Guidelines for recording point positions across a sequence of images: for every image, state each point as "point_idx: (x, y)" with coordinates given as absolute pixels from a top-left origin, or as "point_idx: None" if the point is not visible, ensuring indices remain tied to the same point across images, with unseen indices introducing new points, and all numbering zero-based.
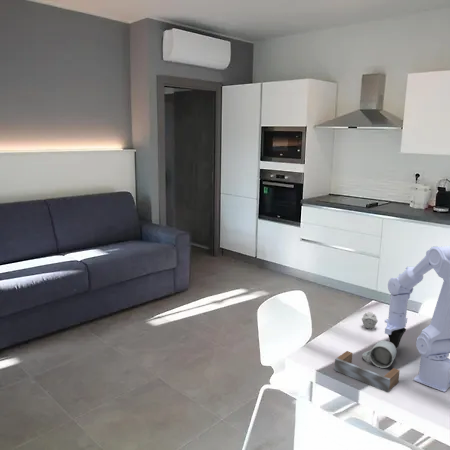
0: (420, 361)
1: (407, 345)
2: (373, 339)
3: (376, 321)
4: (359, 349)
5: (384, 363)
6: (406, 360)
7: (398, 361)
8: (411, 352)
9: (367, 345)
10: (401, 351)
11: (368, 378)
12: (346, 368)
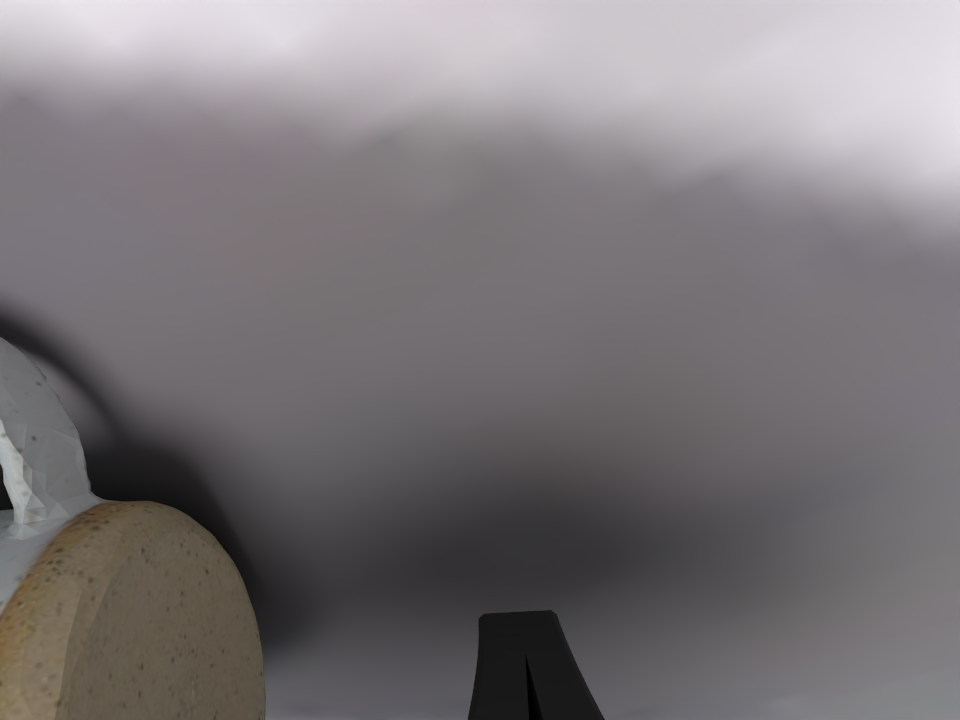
0: None
1: (921, 562)
2: (900, 25)
3: None
4: (82, 34)
5: None
6: (434, 698)
7: (321, 664)
8: (711, 658)
9: (459, 79)
10: (656, 585)
11: None
12: None
